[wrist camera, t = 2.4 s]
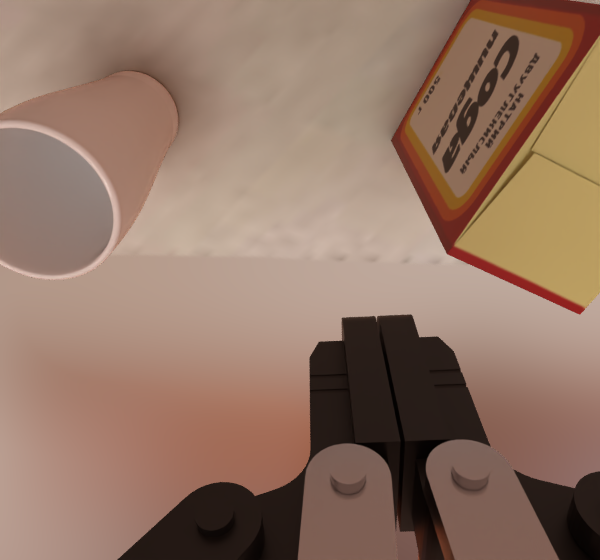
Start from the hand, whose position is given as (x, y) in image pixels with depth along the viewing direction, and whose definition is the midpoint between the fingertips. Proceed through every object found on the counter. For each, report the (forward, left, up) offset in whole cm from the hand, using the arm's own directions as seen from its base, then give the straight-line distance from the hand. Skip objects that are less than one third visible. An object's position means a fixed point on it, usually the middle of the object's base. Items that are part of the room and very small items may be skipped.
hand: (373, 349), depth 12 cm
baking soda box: (+9, 0, -25) cm, 26 cm away
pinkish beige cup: (-12, 0, -25) cm, 28 cm away
